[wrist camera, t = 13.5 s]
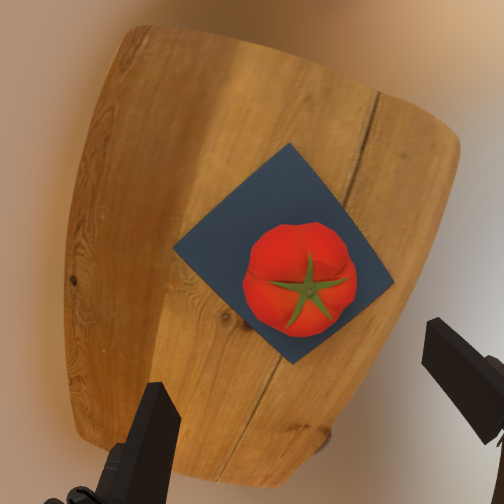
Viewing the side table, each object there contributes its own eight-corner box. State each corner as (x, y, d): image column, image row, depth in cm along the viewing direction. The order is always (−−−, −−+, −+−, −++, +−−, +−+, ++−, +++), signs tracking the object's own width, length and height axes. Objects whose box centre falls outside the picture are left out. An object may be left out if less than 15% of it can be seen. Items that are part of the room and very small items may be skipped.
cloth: (173, 247, 29) (172, 248, 29) (288, 143, 27) (289, 142, 26) (291, 362, 34) (292, 364, 33) (393, 280, 31) (394, 282, 31)
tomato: (306, 327, 32) (321, 365, 25) (223, 281, 30) (217, 313, 23) (361, 251, 30) (393, 274, 22) (279, 194, 28) (292, 201, 21)
